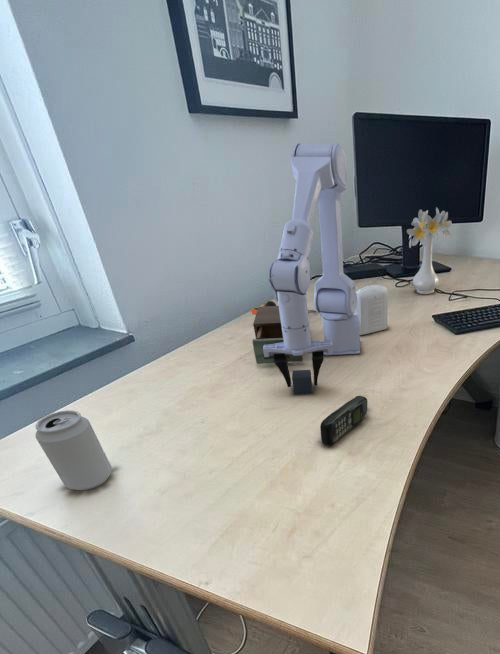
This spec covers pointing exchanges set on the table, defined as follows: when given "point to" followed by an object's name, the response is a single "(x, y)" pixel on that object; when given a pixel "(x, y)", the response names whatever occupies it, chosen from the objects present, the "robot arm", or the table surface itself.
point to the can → (73, 449)
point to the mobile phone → (343, 420)
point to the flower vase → (428, 247)
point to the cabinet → (266, 317)
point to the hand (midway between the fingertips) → (302, 384)
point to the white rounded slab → (372, 308)
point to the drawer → (270, 337)
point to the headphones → (268, 303)
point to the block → (302, 382)
